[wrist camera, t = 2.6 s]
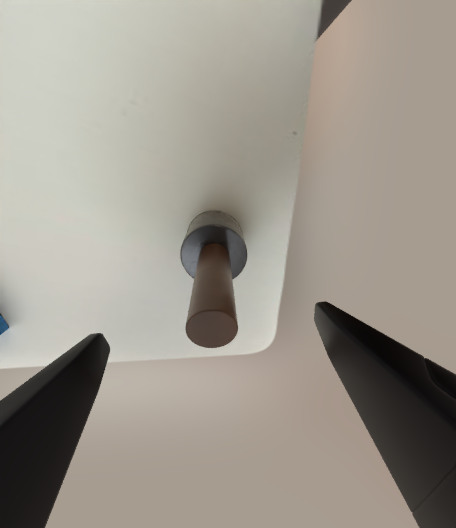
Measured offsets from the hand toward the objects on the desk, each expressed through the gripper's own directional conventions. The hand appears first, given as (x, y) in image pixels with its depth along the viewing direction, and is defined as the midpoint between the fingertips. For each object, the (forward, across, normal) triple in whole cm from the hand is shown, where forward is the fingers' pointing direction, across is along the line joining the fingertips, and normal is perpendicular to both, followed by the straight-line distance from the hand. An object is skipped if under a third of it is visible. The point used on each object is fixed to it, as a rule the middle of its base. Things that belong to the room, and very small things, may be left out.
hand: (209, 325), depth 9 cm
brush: (+11, 0, 0) cm, 11 cm away
